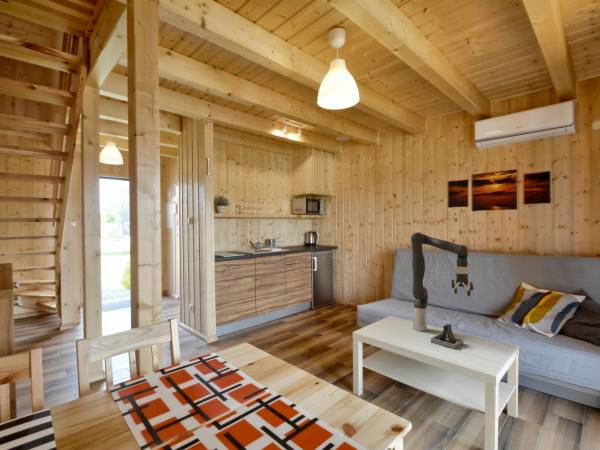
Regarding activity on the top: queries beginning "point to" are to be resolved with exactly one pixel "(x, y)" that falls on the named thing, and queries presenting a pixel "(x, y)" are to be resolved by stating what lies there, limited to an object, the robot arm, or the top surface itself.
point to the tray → (437, 341)
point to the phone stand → (450, 334)
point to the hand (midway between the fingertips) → (462, 295)
